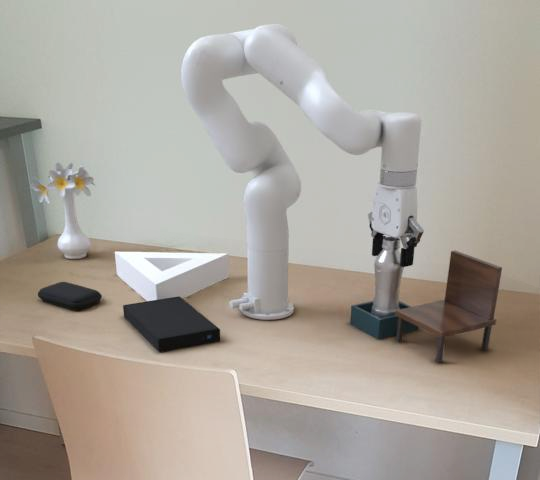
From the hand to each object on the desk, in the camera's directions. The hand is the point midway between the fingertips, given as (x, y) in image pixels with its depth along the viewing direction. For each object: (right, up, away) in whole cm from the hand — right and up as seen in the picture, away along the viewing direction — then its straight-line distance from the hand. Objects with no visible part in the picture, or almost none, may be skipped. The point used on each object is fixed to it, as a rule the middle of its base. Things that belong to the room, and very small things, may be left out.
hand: (391, 260), depth 172 cm
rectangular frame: (-1, -13, +8) cm, 15 cm away
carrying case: (-75, -4, +21) cm, 78 cm away
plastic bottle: (-1, -13, +8) cm, 16 cm away
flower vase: (-82, +15, +52) cm, 99 cm away
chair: (+11, -19, -1) cm, 22 cm away
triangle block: (-57, +3, +33) cm, 66 cm away
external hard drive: (-49, -14, +6) cm, 52 cm away
